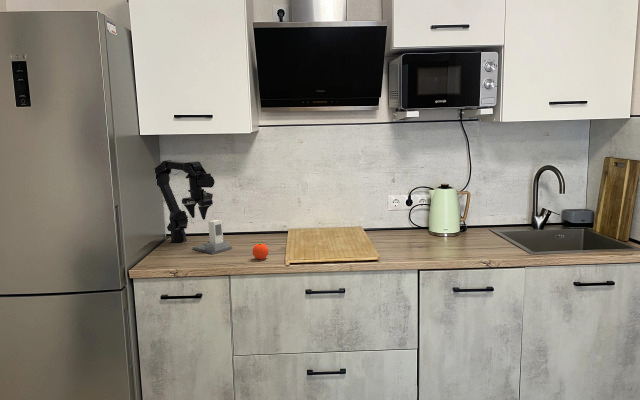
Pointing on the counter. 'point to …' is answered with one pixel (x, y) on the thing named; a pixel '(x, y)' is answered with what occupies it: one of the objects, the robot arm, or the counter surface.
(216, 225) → the white handset
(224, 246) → the dock
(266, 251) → the clementine
